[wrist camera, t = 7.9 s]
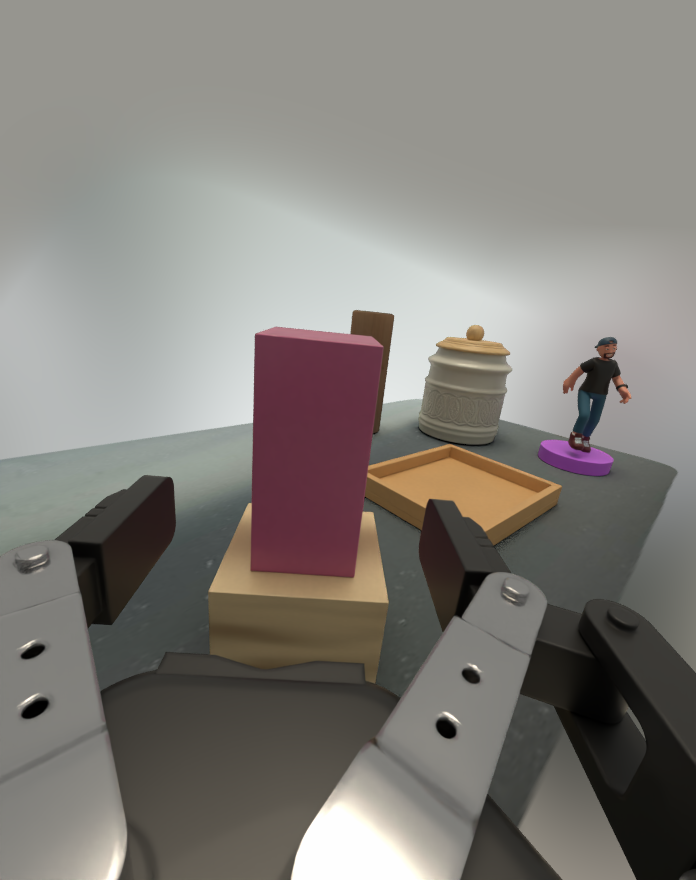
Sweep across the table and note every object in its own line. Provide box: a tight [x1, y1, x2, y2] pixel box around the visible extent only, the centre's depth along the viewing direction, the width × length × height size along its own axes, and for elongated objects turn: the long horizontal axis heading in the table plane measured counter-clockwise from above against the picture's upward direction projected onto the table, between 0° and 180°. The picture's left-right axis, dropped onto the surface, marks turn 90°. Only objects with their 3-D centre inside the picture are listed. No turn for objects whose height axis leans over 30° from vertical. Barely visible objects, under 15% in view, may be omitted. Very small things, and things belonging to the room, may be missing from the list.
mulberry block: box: [250, 327, 384, 577], centre depth 19 cm, size 5×5×11 cm
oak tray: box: [365, 444, 562, 545], centre depth 41 cm, size 18×15×2 cm
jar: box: [418, 325, 512, 445], centre depth 62 cm, size 13×13×18 cm
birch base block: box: [208, 503, 389, 684], centre depth 22 cm, size 8×8×6 cm
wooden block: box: [351, 310, 394, 433], centre depth 56 cm, size 9×4×18 cm, turn 133°
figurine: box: [538, 337, 631, 476], centre depth 54 cm, size 9×9×18 cm
